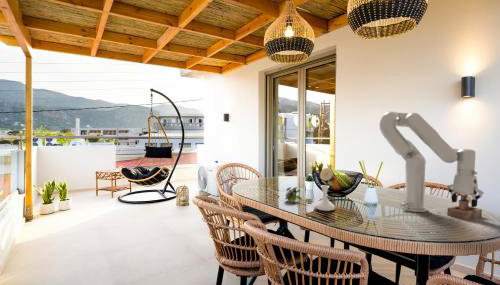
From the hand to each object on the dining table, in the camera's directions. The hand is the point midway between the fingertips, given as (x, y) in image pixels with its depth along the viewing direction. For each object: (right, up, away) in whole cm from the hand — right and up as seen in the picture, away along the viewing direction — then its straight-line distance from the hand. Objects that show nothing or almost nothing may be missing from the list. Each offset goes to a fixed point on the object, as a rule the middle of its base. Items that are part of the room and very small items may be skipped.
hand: (463, 204), depth 150 cm
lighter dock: (0, -6, 0) cm, 6 cm away
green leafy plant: (-86, -6, +32) cm, 92 cm away
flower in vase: (-70, -6, +13) cm, 72 cm away
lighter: (0, -5, 0) cm, 5 cm away
